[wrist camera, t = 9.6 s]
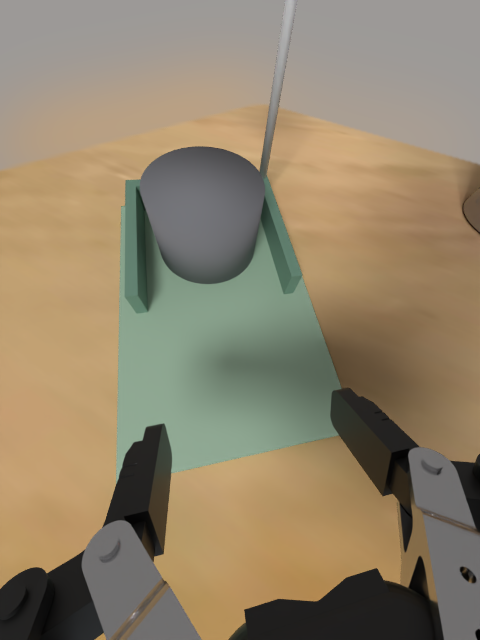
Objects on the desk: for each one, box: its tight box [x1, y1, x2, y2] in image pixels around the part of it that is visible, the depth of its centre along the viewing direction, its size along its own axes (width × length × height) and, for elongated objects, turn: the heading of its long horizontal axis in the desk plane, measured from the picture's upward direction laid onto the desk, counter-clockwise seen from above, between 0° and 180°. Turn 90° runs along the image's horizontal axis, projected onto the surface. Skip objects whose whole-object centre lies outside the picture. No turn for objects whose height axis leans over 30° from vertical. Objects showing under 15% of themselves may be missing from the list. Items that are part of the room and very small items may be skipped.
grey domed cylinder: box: [140, 147, 265, 284], centre depth 22 cm, size 10×10×7 cm
